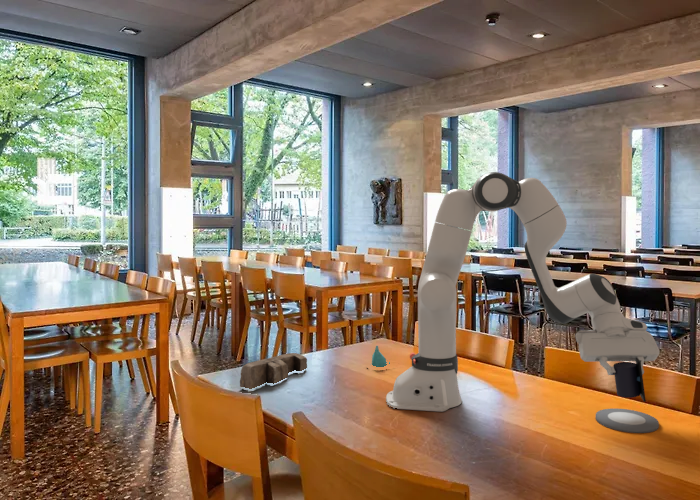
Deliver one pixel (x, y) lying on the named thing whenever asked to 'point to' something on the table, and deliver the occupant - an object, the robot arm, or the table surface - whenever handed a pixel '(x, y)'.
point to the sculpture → (271, 369)
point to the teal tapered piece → (378, 359)
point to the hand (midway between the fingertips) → (626, 374)
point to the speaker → (629, 379)
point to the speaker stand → (627, 420)
